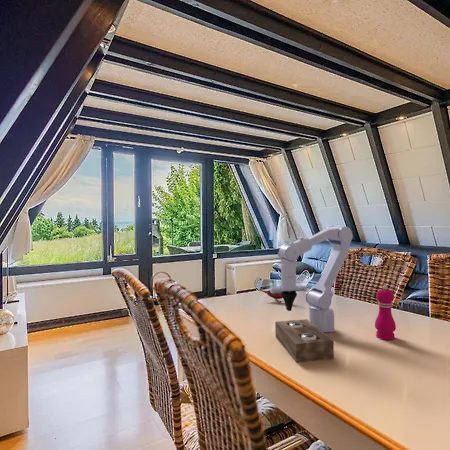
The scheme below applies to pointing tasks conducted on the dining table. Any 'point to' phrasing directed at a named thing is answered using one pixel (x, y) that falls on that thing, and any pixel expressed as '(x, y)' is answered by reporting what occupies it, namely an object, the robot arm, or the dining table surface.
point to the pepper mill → (385, 315)
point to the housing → (301, 348)
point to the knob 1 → (295, 324)
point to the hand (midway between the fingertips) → (288, 310)
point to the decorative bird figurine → (274, 295)
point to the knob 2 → (308, 336)
